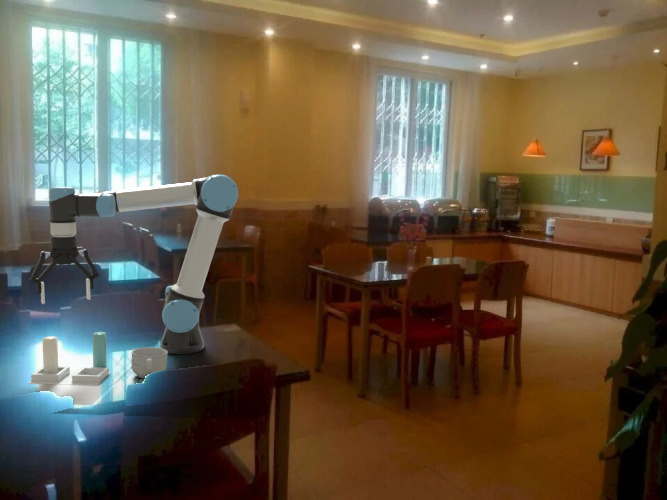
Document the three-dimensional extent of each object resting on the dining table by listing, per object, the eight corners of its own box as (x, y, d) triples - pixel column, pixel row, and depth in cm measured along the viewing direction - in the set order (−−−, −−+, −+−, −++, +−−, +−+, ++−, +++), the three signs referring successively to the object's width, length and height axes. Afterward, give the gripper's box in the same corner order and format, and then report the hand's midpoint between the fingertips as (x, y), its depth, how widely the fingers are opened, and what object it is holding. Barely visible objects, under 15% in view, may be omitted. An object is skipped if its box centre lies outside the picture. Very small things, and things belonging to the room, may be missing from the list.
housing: (111, 374, 191) (111, 365, 191) (96, 388, 179) (96, 378, 179) (47, 372, 191) (46, 363, 191) (28, 386, 179) (27, 376, 179)
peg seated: (60, 374, 187) (59, 336, 185) (54, 379, 183) (53, 340, 181) (47, 374, 187) (46, 336, 185) (41, 378, 183) (40, 339, 181)
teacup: (136, 369, 197) (136, 345, 196) (170, 370, 198) (170, 346, 197) (125, 385, 183) (124, 359, 182) (162, 385, 184) (162, 359, 183)
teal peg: (108, 368, 197) (107, 332, 196) (104, 372, 193) (103, 335, 192) (96, 368, 197) (95, 331, 196) (91, 372, 193) (90, 335, 192)
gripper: (102, 232, 205) (104, 295, 208) (18, 235, 192) (22, 302, 195) (107, 235, 198) (109, 299, 201) (20, 238, 185) (24, 307, 188)
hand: (66, 301), depth 198 cm, fingers open, 13 cm apart
